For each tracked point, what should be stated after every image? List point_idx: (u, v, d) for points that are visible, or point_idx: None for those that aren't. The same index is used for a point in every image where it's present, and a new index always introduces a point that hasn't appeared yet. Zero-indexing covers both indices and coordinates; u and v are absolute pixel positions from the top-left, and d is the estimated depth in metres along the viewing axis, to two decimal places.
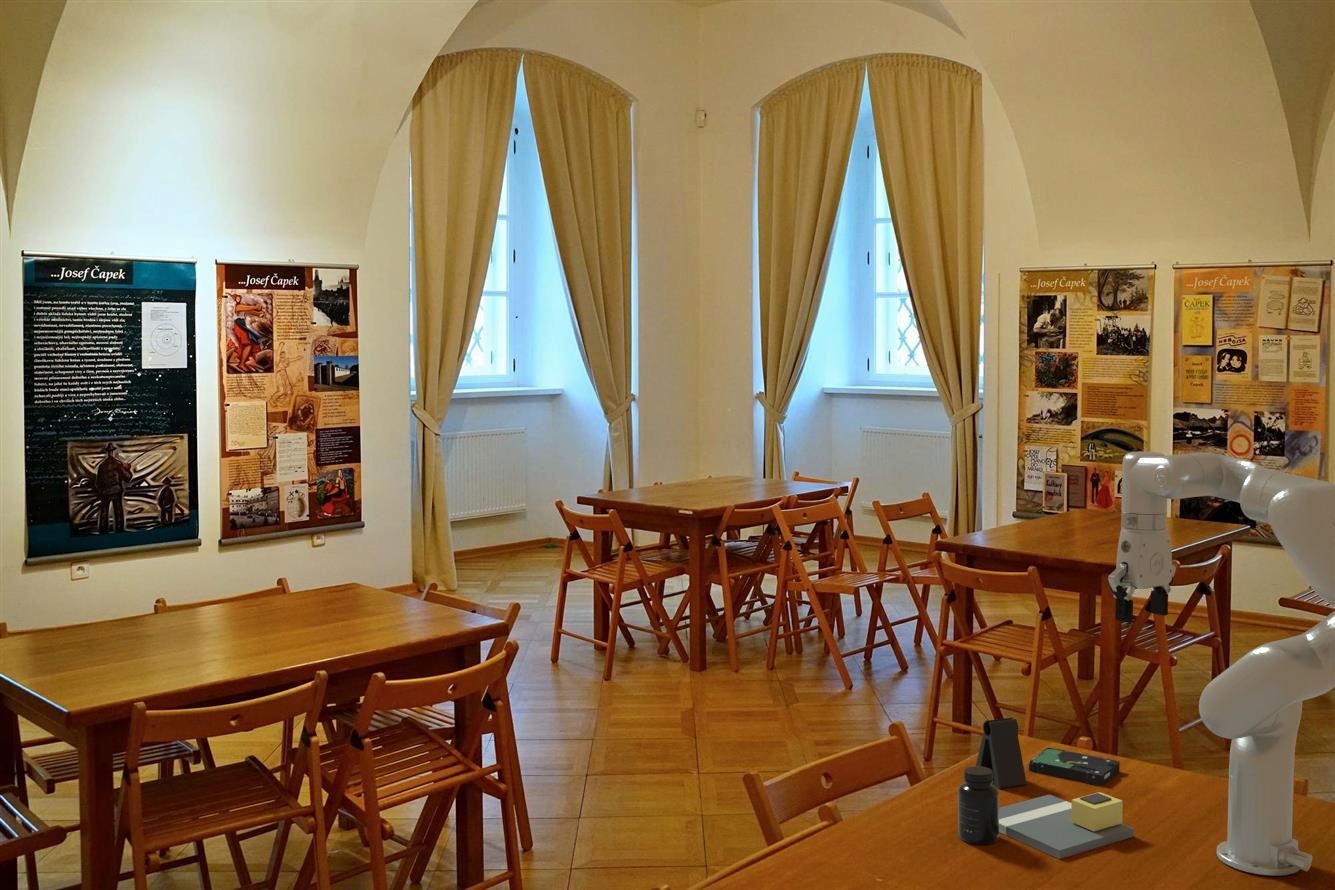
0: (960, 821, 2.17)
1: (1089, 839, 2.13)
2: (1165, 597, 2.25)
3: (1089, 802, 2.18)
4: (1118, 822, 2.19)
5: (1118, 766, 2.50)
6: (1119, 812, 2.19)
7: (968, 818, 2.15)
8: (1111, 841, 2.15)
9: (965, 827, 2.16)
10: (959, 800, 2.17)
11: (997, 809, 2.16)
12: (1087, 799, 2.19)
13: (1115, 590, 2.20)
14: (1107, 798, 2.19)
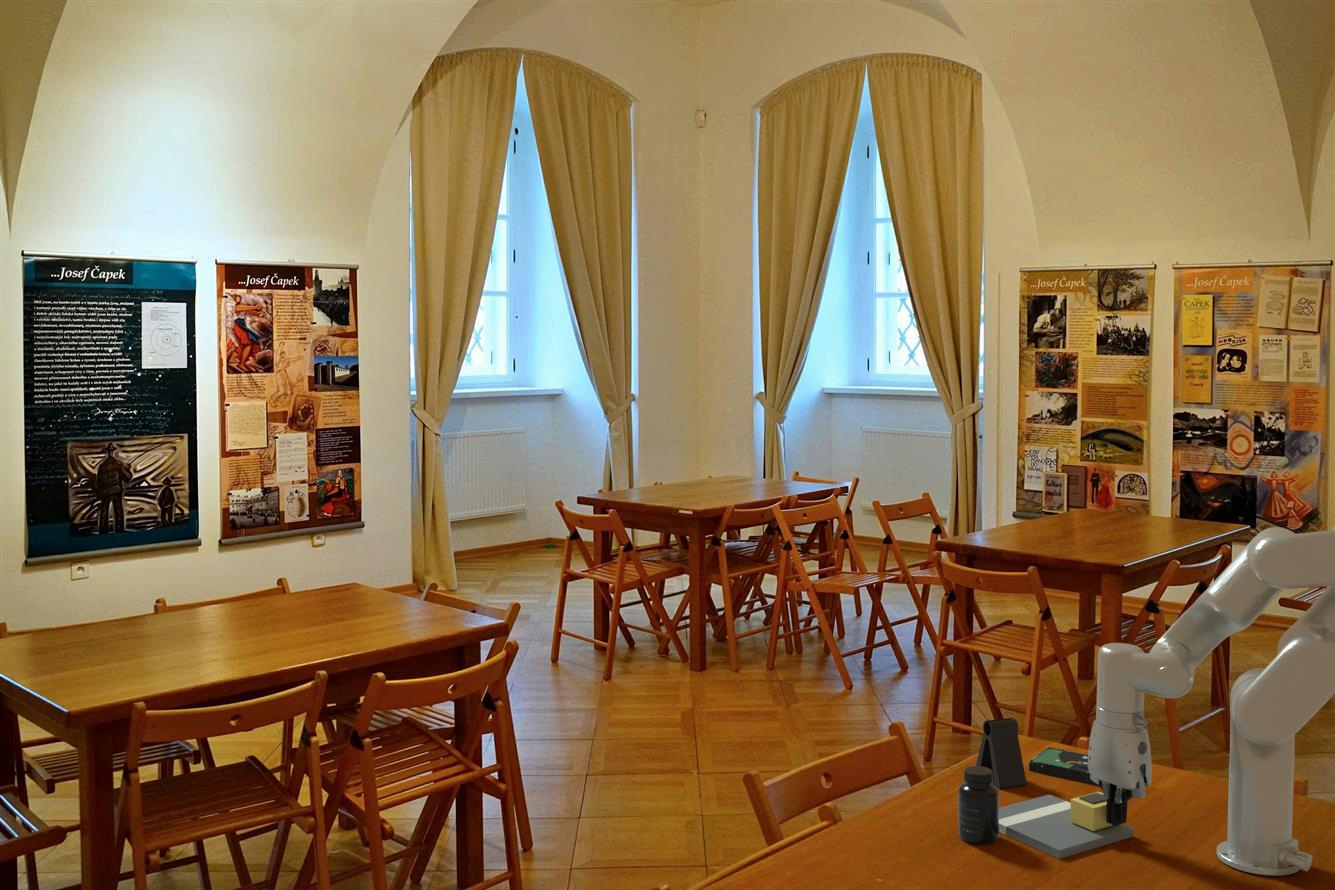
0: (960, 821, 2.17)
1: (1089, 839, 2.13)
2: None
3: (1088, 802, 2.18)
4: None
5: None
6: None
7: (968, 818, 2.15)
8: (1111, 841, 2.15)
9: (965, 828, 2.16)
10: (959, 800, 2.17)
11: (997, 809, 2.16)
12: (1086, 798, 2.19)
13: None
14: None
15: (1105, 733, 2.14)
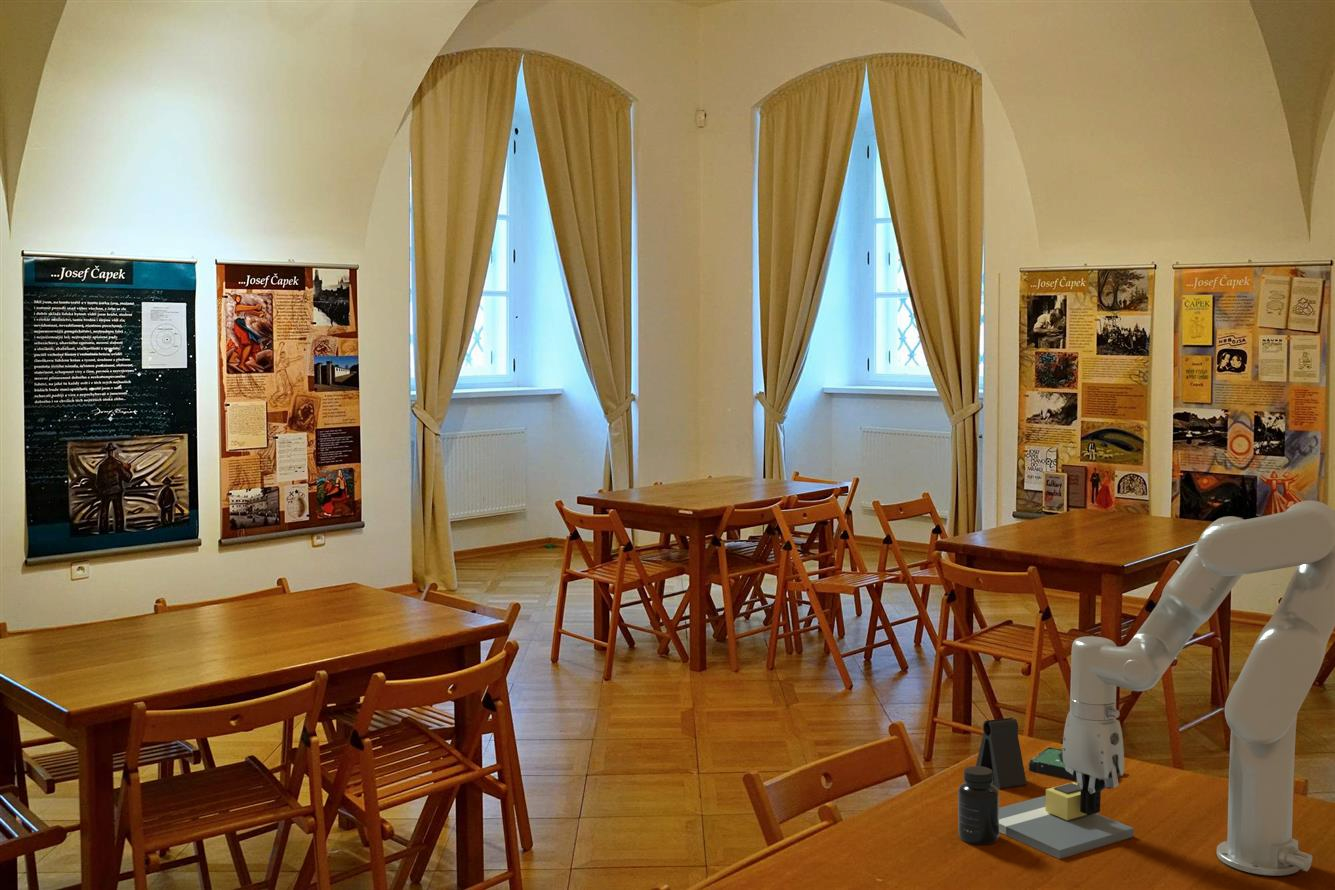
0: (960, 821, 2.17)
1: (1089, 839, 2.13)
2: None
3: (1063, 792, 2.23)
4: None
5: None
6: None
7: (968, 818, 2.15)
8: (1111, 841, 2.15)
9: (965, 827, 2.16)
10: (959, 800, 2.17)
11: (997, 809, 2.16)
12: (1060, 789, 2.24)
13: None
14: None
15: (1078, 724, 2.19)
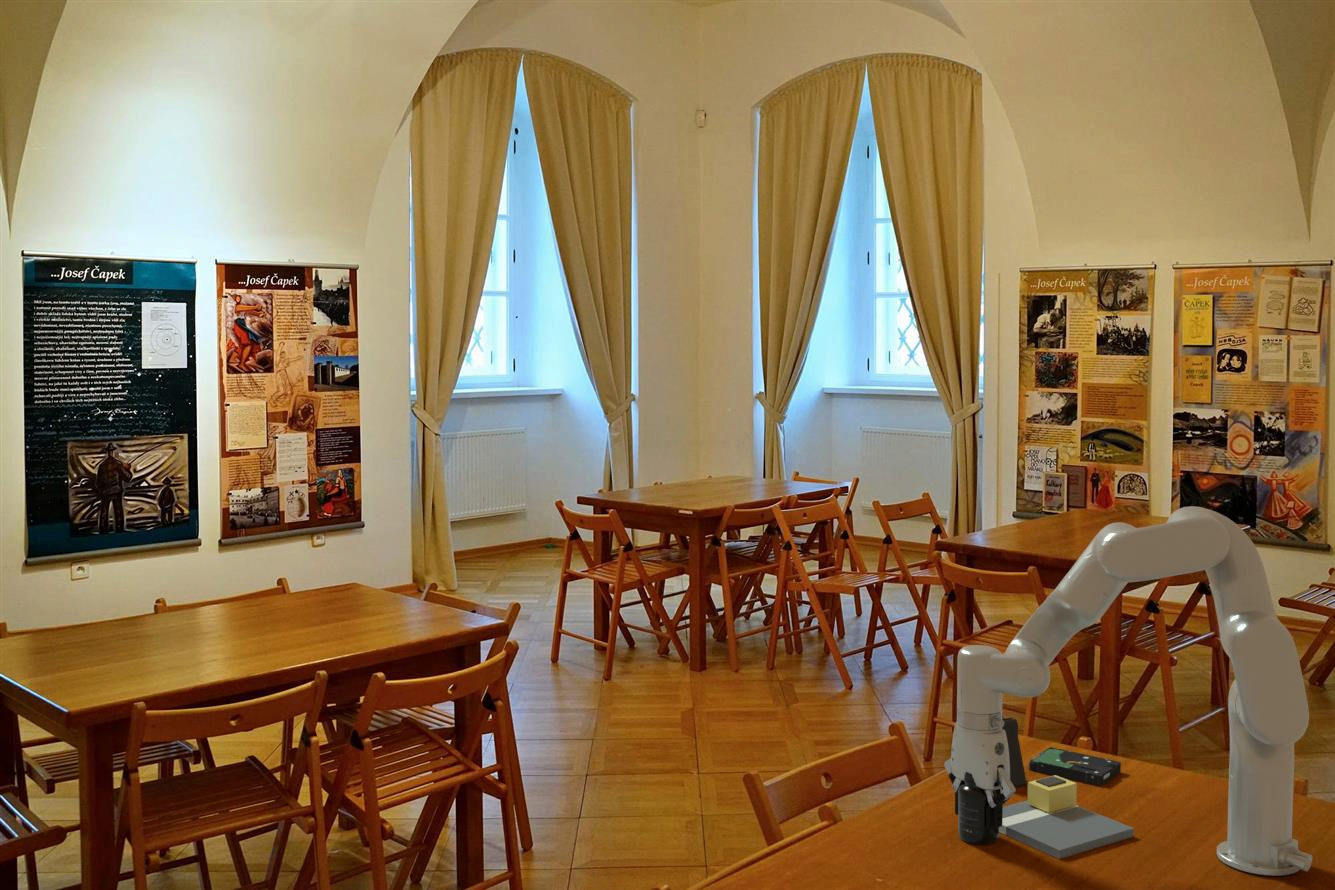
0: (960, 821, 2.17)
1: (1089, 839, 2.13)
2: None
3: (1044, 784, 2.27)
4: (1072, 804, 2.27)
5: (1119, 767, 2.49)
6: (1073, 794, 2.27)
7: (968, 817, 2.15)
8: (1111, 841, 2.15)
9: (965, 827, 2.16)
10: (959, 800, 2.17)
11: None
12: (1042, 781, 2.28)
13: (1006, 799, 2.12)
14: (1062, 781, 2.28)
15: (965, 734, 2.16)
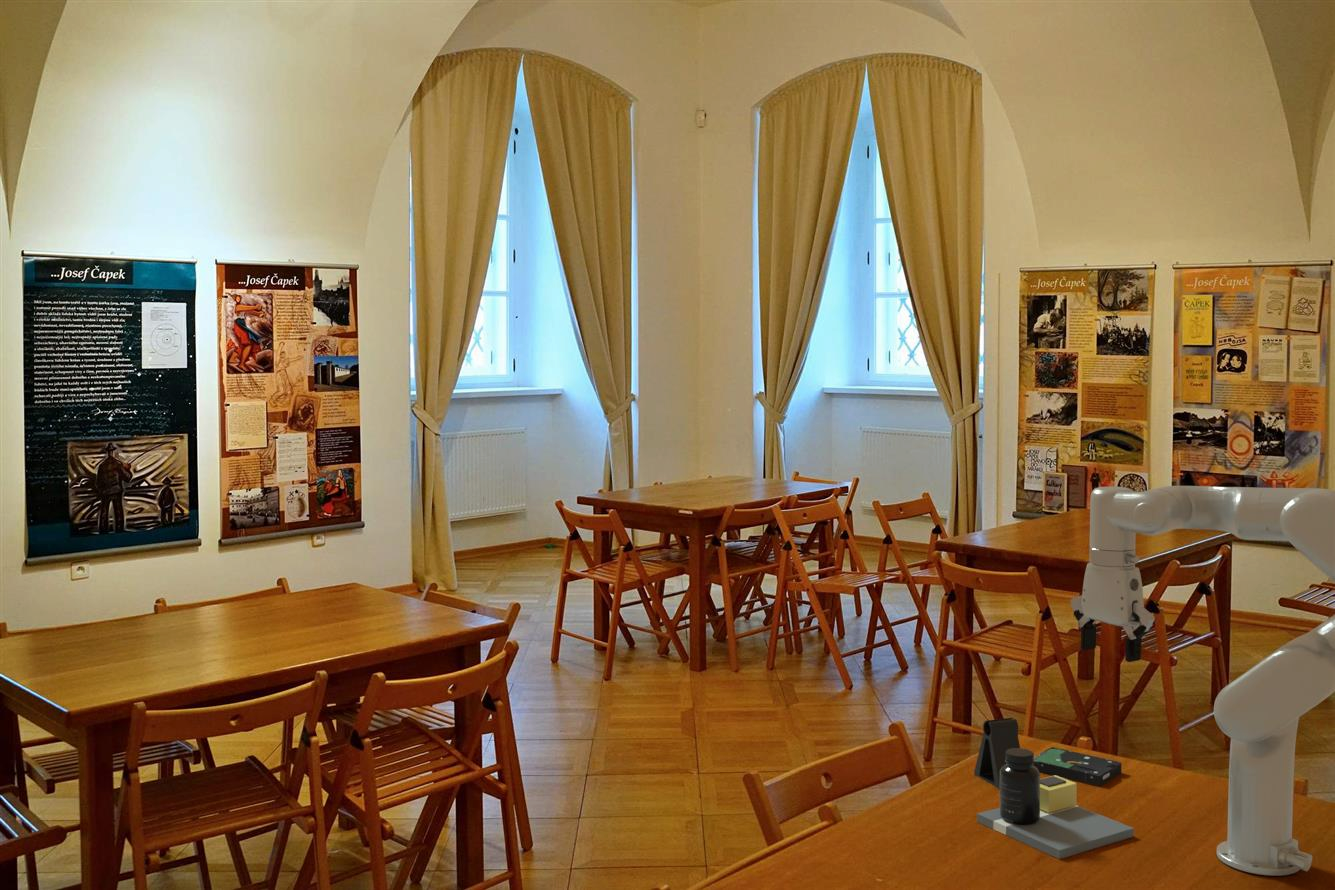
0: (1002, 802, 2.22)
1: (1089, 839, 2.13)
2: (1095, 630, 2.26)
3: (1044, 784, 2.27)
4: (1072, 804, 2.27)
5: (1120, 767, 2.49)
6: (1073, 794, 2.27)
7: (1010, 798, 2.20)
8: (1111, 841, 2.15)
9: (1007, 808, 2.20)
10: (1001, 781, 2.22)
11: (1038, 790, 2.20)
12: (1042, 781, 2.28)
13: (1147, 630, 2.15)
14: (1062, 781, 2.28)
15: (1098, 573, 2.20)
